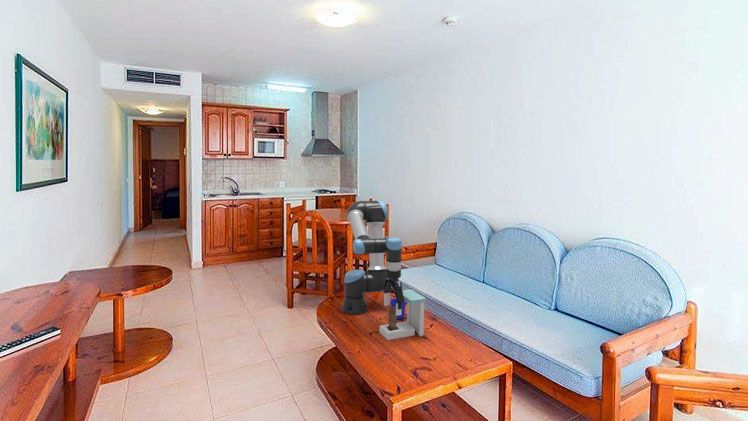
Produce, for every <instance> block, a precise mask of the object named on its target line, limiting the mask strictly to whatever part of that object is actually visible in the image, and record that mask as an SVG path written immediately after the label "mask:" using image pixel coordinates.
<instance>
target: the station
mask: <svg viewBox="0 0 748 421" xmlns="http://www.w3.org/2000/svg"><path fill="white" fill-rule="evenodd" d="M402 291H403V296H404V300H405V302H407V304H406V306H407V307H406V308H407V309H406V310H407V311H406V312H407V316H406V321H401V322H397V329H396V330H392V331H390V330H389V323H388V324H382V325H379V334H380V335H382V337H384V338H385V339H386V340H387V341H392V340H395V339H396V340H397V339H402V338H407V337H412V336H413V337H414V336H415V335H416V334H415V332H416V333H417V335H418V336H419V337H423V336H424V332H425V331H424V330H425V328H424V327H425V302H427V298H426V297H425V296H424V295H422V294H419V293H418V292H416V291H415V290H413V289H412V288H411V289H410V288H409V289H402Z"/></svg>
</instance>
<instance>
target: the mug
mask: <svg viewBox="0 0 748 421" xmlns="http://www.w3.org/2000/svg"><path fill="white" fill-rule="evenodd" d="M396 302H397V300H396V297H395V298H391V299H390V307H396ZM406 306H407V301H406V300H405V299H404V303H402V314H401V315H397V320H402V319H403V318H404V316H405V317H407V314H406V312H405V311H406Z"/></svg>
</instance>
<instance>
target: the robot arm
mask: <svg viewBox="0 0 748 421" xmlns="http://www.w3.org/2000/svg"><path fill="white" fill-rule="evenodd" d="M388 215H389V212H388V207H387V204H386V202H385V201H384V200H359V201H355V202H354V203H352V204H350V206H349V207H348V208H347V211H346V218H347V222H348V223H350V226H351V229H352V230H351V231H352V234H353V236H354V240H353V242H352V250H353V253H354V254H355V255H367V254H368V255H369V267H367V270H366V271H365V269H364V270H363V269H352V270H349V271H347V272H346V273H345V275H344V279H343V280H344V281H343V282H344V298H343V300H342V305H341V311H342V312H341V313H344V314H347V315H361V314H364V313H366V312H368V304H367V301H366V298H365V293H382V292H384V295H383V296H384V298H383V300H384V301H383V303H384V304H383V305H384V307H386V306H391V299H390V298H391V296H390V295H391V290H392V291H393V293H394V296H395V298H396V300H397V302H396V316H397V315H401V314H402V303H404V300H405V299H404V296H403V291H402V290H403V287H402V286H403V284H402V282H401V281H399V279H400V278H401V276H402V270H401V269H402V247H403V245H402V244H403V243H402V239H401V238H399V237H398V238H397V237H390V236H385V237H384V230H383V229H384V228H383V226H384V225H385V224H386V220H388V217H389V216H388ZM366 225H367V226H368V229H367V226H366Z"/></svg>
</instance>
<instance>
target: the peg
mask: <svg viewBox="0 0 748 421" xmlns="http://www.w3.org/2000/svg"><path fill="white" fill-rule="evenodd" d="M397 323H398V319H397V316H396V307H391V306H389V307H388V324H389V330H390V331H392V330H396V329H397Z"/></svg>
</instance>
